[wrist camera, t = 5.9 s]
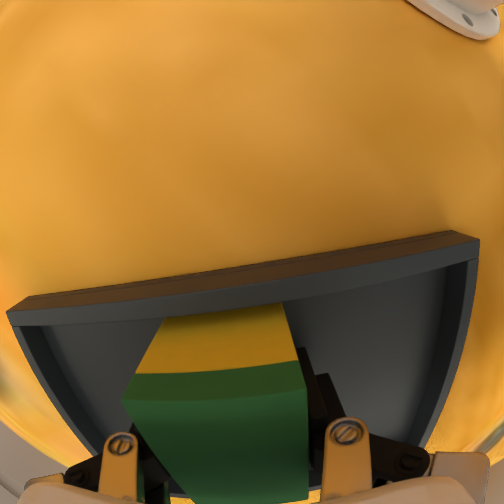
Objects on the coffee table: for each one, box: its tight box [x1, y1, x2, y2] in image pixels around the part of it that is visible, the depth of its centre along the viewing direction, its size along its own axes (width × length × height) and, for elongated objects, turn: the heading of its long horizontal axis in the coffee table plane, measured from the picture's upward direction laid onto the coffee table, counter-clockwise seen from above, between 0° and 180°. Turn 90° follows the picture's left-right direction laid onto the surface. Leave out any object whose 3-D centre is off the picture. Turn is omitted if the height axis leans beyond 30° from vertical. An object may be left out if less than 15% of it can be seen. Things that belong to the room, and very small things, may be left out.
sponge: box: [121, 302, 309, 504], centre depth 9 cm, size 7×4×5 cm, turn 8°
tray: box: [6, 230, 480, 498], centre depth 11 cm, size 16×22×2 cm
